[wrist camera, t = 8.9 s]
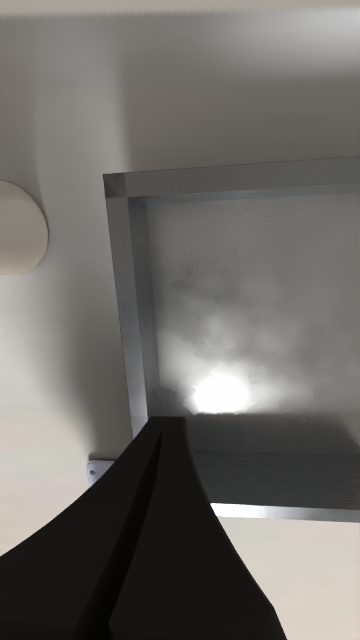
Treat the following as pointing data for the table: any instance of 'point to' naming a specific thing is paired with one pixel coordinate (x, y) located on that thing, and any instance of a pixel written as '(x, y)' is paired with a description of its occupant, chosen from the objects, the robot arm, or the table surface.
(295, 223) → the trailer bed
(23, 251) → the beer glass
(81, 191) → the table surface
